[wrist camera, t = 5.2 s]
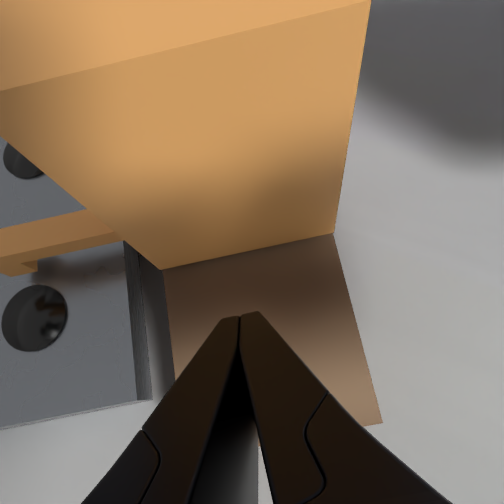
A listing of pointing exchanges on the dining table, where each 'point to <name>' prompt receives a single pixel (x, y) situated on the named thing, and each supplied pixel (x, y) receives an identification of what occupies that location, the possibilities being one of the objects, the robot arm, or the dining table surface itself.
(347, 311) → the rail
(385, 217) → the dining table surface
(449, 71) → the dining table surface
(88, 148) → the block
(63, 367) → the bolt hole plate
